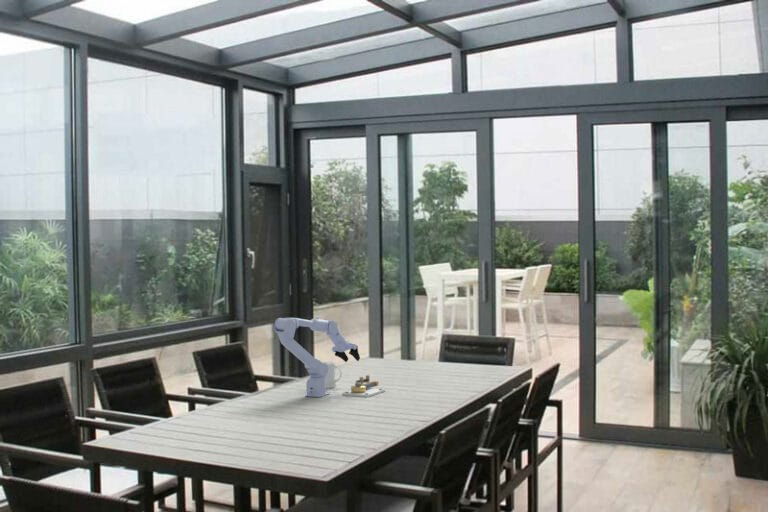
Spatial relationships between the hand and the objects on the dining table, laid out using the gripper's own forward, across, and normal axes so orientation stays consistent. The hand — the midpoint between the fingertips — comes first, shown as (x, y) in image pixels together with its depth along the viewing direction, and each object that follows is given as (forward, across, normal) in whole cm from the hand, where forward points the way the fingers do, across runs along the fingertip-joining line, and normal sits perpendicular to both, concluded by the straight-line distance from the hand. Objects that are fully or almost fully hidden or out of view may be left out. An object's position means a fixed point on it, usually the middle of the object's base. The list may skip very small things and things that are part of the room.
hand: (352, 359), depth 434 cm
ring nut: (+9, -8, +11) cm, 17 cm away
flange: (+8, -10, +15) cm, 20 cm away
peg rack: (+16, +2, +2) cm, 17 cm away
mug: (+9, +16, +9) cm, 20 cm away
